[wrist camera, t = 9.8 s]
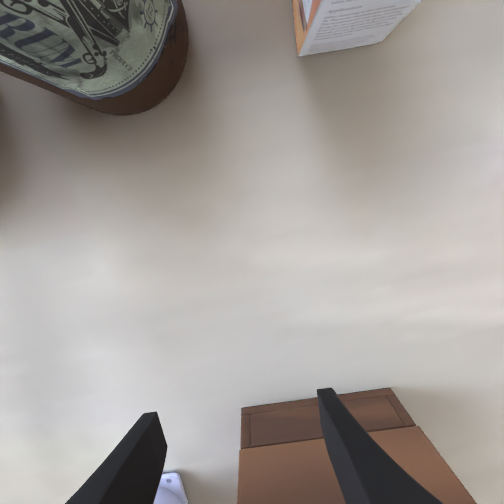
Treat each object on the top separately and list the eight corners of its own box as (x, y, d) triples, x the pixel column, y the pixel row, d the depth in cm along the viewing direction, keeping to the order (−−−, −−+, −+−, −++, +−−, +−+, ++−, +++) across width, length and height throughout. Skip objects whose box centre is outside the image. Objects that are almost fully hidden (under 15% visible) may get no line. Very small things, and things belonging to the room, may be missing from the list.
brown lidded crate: (392, 474, 27) (415, 521, 23) (258, 491, 27) (259, 540, 23) (390, 387, 24) (416, 424, 20) (241, 407, 24) (240, 447, 21)
